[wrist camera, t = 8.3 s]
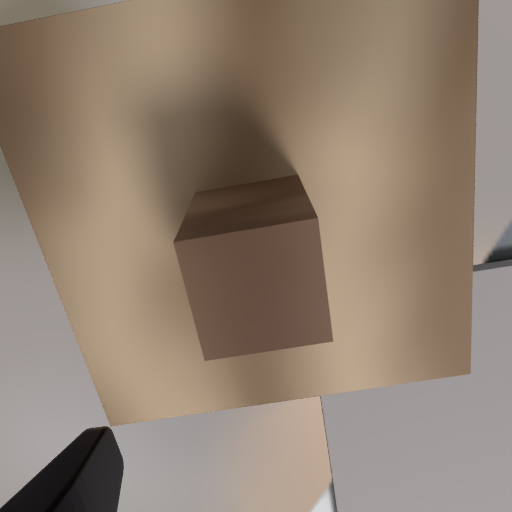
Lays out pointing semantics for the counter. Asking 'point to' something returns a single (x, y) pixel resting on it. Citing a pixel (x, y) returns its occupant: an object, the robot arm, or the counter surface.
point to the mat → (433, 425)
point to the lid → (250, 193)
